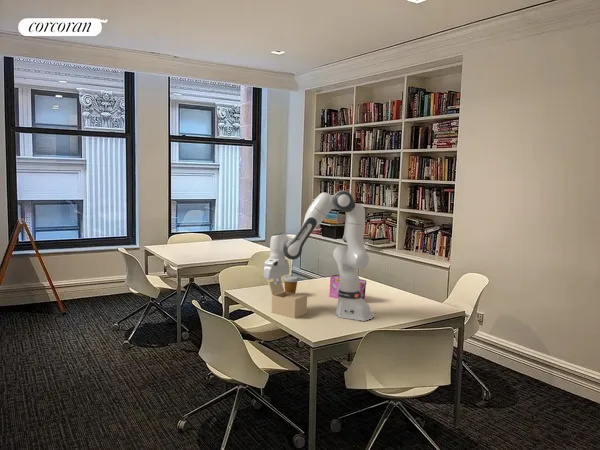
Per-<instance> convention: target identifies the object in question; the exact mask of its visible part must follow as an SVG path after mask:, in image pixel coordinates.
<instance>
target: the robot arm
mask: <svg viewBox="0 0 600 450" xmlns="http://www.w3.org/2000/svg"><path fill="white" fill-rule="evenodd" d="M335 208H336V209H338V210H340V211H343V212H344V213H345V223H344V231H343V237H344V239H345V240H346V243H347V245H338V246H337V247H335V248H334V250H333V252H332V253H333V254H332V255H333V259H334V260H335V262H336V265H337V268H338V269H337V270H338V272H339V273H338V275H340V287H339V291H338V298H339V299H338V298H337V299H338V300H337V306H336V310H335V312H334V313H335V315H337V317H338V318H342V319H348V320H353V319H354V320H353V321H359V320H361V322H367V321H366V320H368V321H370V320H369V319H371V320H372V318H373V317H374V318H375V315H374V313H372V312H371V306H370V304H369V303H367V302H366V300H365V301H364V300H363V299H362V298H361V295H362V293H360V292H359V279H360V277H359V275H358V273H357V270H358V269H359V270H360V269H361V270H362V269H365V268H367V267H368V265H369V263H370V256H369V254H368V253H367V250H366V246H365V244H364V243H365V242H364V236H365V235H364V233H365V226H366V225H365V224H366V209H365V206H363V205H362V204H359V203H356V201H355V199H354V197H353V195H352V194H351V192H349V191H348V190H339V191H337V192H336V193H333V194H330V193H329V192H321V193H319V194H318V195H317V196H316V197H315V199H314V200H313V201H312V202H311V204H310V205H309V207H308V209H307V210H306V212H305V215H304V220H303V222H302V226H301V227H300V229H299V230H298V232H297V234H296V235H295V237H294V238H293V237H291V236H288V235H287V234H285V233H284V232H278V233H274V234H272V235H271V236H270V241H269V249H270V250H269V251H270V253H269V257H268V259H266V260H264V261H263V265H264V269H263V276H264V277H263V278H264V279H265V280H273V281H274V285H278V284H280V280H281V281H282V277H285V276H289V274H290V263H289V260H296V259H299V258H300V256H301V255H302V252H303V246H304V245H305V243H306V242H307V240H308V239H309V238H310V235H311V234H312V233H313V232H314V230H315V229H316V228H317V227H318V226H319V225H321V223H322V222H324V220H325V219H326V218H327V216H328V214H329V213H330V211H332V209H335ZM288 259H289V260H288ZM356 269H357V270H356ZM374 318H373V319H374Z"/></svg>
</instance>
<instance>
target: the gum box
mask: <svg viewBox="0 0 600 450" xmlns="http://www.w3.org/2000/svg"><path fill="white" fill-rule="evenodd" d="M329 278H330V279H329V293H328V295H329V296H328V297H329V298H335V299H339V298H338V291H339V287H340V274H334V275H331V276H330V277H329ZM366 289H367V280H365V279H361V278H359V292H360V293H362V295H361V298H362V299H363V300H364V301H365V302H366Z"/></svg>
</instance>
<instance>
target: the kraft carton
mask: <svg viewBox="0 0 600 450" xmlns="http://www.w3.org/2000/svg"><path fill="white" fill-rule="evenodd" d="M307 308H308V296H307V295H305V294H300V293H295V294H293V293H289V292H285V291H284V292H281V293H278V294H275V295H272V294H271V314H277V315H280V316H283V317H284V316H285V317H287V318H291V319H297V318H299V317H303V316H304V315H307Z"/></svg>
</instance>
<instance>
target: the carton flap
mask: <svg viewBox="0 0 600 450" xmlns="http://www.w3.org/2000/svg"><path fill="white" fill-rule="evenodd" d="M268 286H269V289H270V290H269V291H270V293H271V296H272V295H275V294H279V293H282V292H285V287H284V285H283V281H282V279H281V280H280V284H278V285H274V280H273V281H268Z"/></svg>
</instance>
